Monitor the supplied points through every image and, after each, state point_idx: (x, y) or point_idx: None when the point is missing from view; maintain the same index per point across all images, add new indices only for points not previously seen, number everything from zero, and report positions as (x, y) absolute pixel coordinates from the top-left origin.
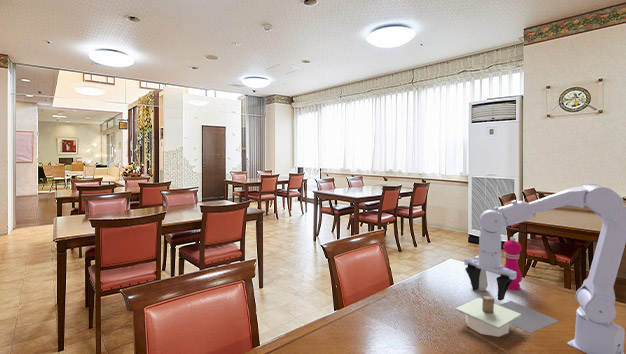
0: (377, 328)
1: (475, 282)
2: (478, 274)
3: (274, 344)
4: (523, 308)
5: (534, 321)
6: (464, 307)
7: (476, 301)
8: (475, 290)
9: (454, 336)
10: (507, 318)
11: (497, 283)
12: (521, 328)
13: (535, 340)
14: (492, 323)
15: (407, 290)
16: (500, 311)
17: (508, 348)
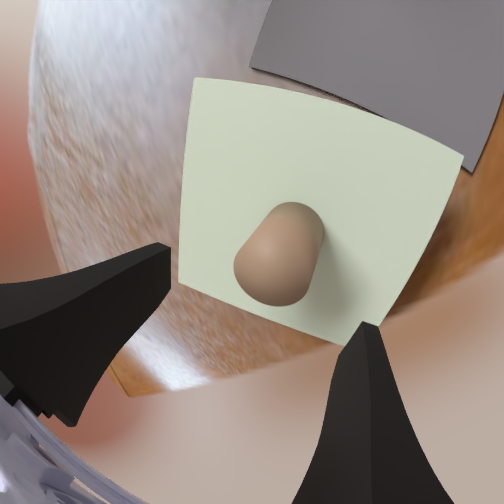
0: (136, 347)
1: (127, 322)
2: (69, 330)
3: (123, 393)
4: None
5: (469, 42)
6: (196, 255)
7: (204, 142)
8: (169, 283)
9: (245, 325)
10: (398, 260)
11: (296, 495)
12: None
13: (482, 215)
14: (335, 337)
15: (47, 143)
16: (357, 192)
17: (393, 316)
